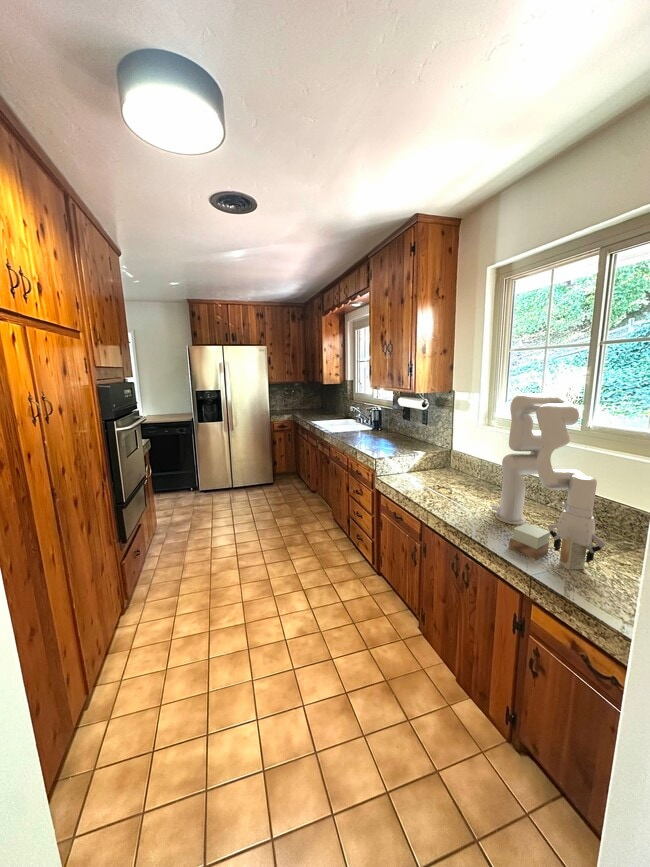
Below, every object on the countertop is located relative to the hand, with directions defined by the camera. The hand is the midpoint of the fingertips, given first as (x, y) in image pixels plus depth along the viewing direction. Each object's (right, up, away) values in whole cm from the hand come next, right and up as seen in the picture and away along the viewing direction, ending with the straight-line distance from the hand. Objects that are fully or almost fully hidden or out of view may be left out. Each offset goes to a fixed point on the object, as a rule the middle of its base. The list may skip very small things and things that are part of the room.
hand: (572, 555), depth 123 cm
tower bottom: (-9, -2, +12) cm, 15 cm away
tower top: (-9, +2, +11) cm, 14 cm away
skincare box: (0, -4, +1) cm, 5 cm away
